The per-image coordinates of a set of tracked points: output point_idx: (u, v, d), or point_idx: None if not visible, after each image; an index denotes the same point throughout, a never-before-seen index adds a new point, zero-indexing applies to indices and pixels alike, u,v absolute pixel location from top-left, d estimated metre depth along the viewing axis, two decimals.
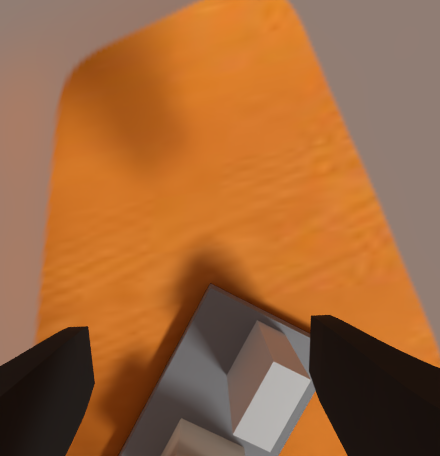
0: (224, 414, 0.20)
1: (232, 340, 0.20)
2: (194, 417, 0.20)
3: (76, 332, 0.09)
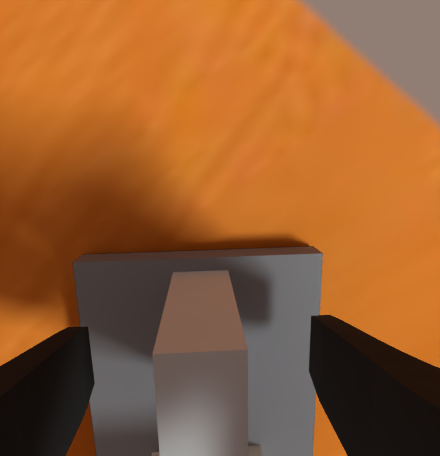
0: None
1: (155, 319, 0.12)
2: None
3: (76, 332, 0.09)
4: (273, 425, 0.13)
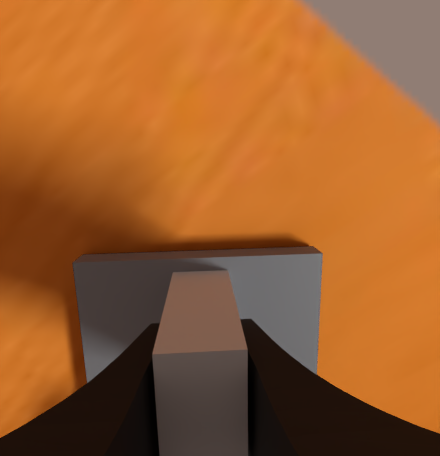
0: None
1: (155, 319, 0.12)
2: None
3: None
4: None
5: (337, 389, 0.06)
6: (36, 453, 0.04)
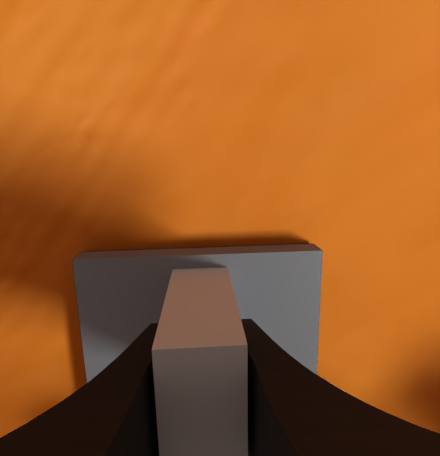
0: None
1: (155, 316, 0.12)
2: None
3: None
4: None
5: (337, 389, 0.06)
6: (36, 453, 0.04)
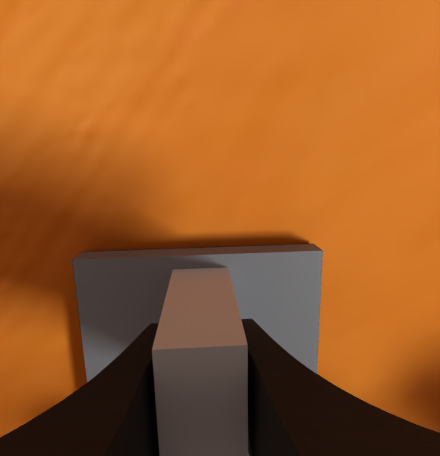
0: None
1: (155, 316, 0.12)
2: None
3: None
4: None
5: (338, 389, 0.06)
6: (35, 453, 0.04)
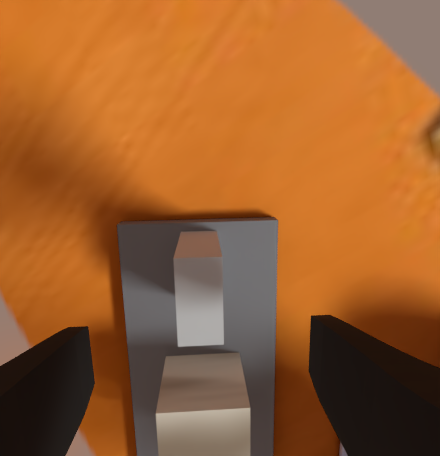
0: None
1: (169, 263, 0.18)
2: (177, 350, 0.19)
3: (76, 332, 0.09)
4: (247, 338, 0.19)
5: None
6: None
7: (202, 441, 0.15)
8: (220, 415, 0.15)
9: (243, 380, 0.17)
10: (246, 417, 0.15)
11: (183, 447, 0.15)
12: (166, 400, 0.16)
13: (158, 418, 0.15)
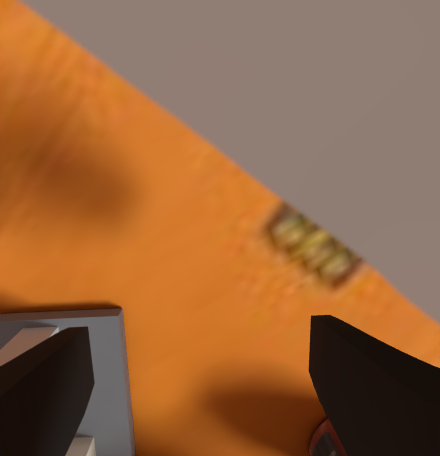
0: None
1: None
2: None
3: (76, 332, 0.09)
4: (100, 423, 0.20)
5: None
6: None
7: None
8: None
9: None
10: None
11: None
12: None
13: None
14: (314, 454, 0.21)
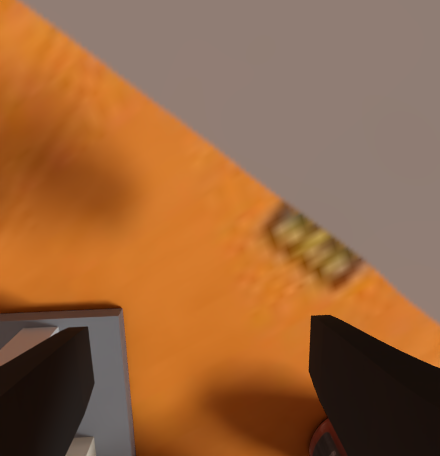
0: None
1: None
2: None
3: (76, 332, 0.09)
4: (100, 423, 0.20)
5: None
6: None
7: None
8: None
9: None
10: None
11: None
12: None
13: None
14: (314, 454, 0.21)
